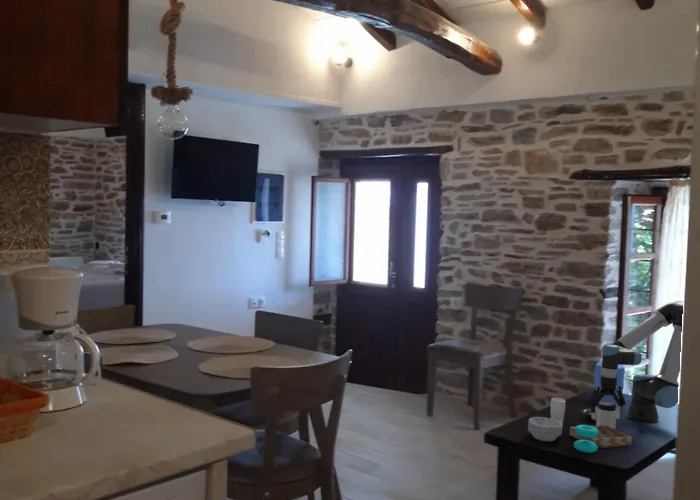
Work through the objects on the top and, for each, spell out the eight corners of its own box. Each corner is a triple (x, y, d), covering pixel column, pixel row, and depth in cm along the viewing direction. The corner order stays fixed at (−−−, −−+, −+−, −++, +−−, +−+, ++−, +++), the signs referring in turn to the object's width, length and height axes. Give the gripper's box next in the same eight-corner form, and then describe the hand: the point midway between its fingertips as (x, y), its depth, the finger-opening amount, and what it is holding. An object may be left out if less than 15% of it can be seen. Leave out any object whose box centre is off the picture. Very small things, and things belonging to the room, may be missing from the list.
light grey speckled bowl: (557, 446, 302) (558, 428, 302) (523, 439, 310) (524, 422, 309) (564, 437, 316) (565, 420, 315) (532, 431, 323) (533, 414, 323)
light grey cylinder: (547, 427, 329) (549, 397, 329) (561, 428, 329) (563, 398, 328) (551, 432, 323) (553, 401, 322) (565, 432, 322) (567, 401, 322)
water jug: (619, 407, 374) (622, 357, 373) (590, 401, 382) (593, 353, 381) (625, 401, 387) (628, 353, 386) (596, 396, 395) (599, 349, 394)
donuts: (575, 422, 305) (599, 426, 301) (574, 444, 306) (597, 448, 302) (574, 428, 296) (598, 432, 292) (572, 451, 297) (596, 455, 293)
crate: (605, 433, 324) (606, 425, 324) (631, 445, 307) (631, 437, 307) (569, 435, 319) (570, 426, 319) (593, 448, 302) (594, 439, 301)
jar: (607, 431, 328) (608, 406, 327) (593, 426, 335) (594, 402, 334) (618, 428, 333) (620, 404, 332) (604, 424, 340) (605, 400, 339)
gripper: (625, 374, 340) (621, 415, 341) (582, 374, 333) (579, 417, 334) (635, 378, 333) (631, 420, 334) (592, 378, 326) (588, 421, 326)
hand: (605, 418), depth 334 cm, fingers open, 13 cm apart
